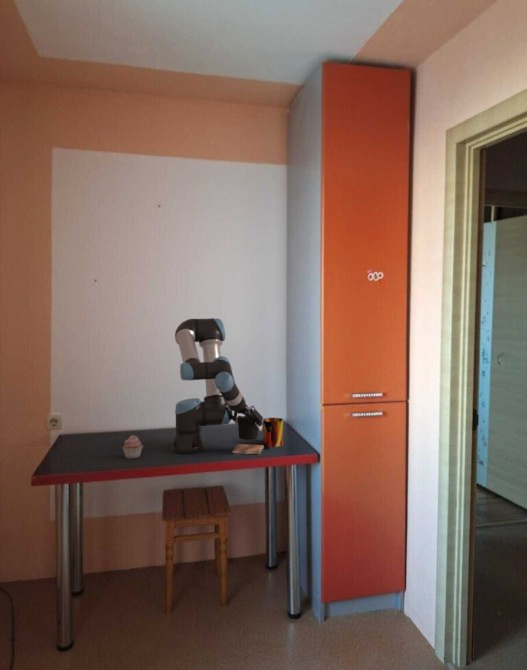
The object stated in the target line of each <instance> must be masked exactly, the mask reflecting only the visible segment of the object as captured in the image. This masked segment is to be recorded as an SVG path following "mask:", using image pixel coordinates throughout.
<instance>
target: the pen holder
mask: <svg viewBox="0 0 527 670" xmlns="http://www.w3.org/2000/svg"><path fill="white" fill-rule="evenodd" d="M237 417H238V425H237V428H238V438H239V439H240V440H244V441H251V440H257V438H258V436H259V430H258V428H257V426H256V424H255V421H253V420H252V419H251V418H249V417H248V416H245V415H237Z"/></svg>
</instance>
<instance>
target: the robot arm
mask: <svg viewBox="0 0 527 670" xmlns="http://www.w3.org/2000/svg"><path fill="white" fill-rule="evenodd" d="M174 333H175V334H174V340H175V342H176V344H177V345H178V347H179V348H178V349H179V351H180V355H181V359H182V360H181V361H182V363H180V367H179V372H180V373H179V375H180V379H181V380H182V381H189V382H190V381H199V380H201V381H202V380H205V391H206V395H205V396H204V397H203V401H201V399H200V398H198V397H196V398H193V397H192V398H187V399H183V400H179V401H178V402H177V403H176V404H175V409H174V411H175V412H174V414H175V436H174V439H173V441H172V442H173V443H172V445H171V447H172V448H171V449H172V450H171V451H172V452H174V453H177V454H182V453H184V454H185V453H190V454H196V453H195V452H197V453H200V451H201V452H203V451H204V450H206V443H205V441H204V438H203V435H202V427H212V426H223V425H224V426H225V425H228V424H230V422H231V421H233V422H234V423H235V424H236V425H237V426H238V414H242V415H243V416H248V417H249V418H251V419H252V420H253V421H255V424H256V426H257V428H258V432H261V431H263V419H264V417H263V416H262V415H261V414H260V412H258V410H257V409H256V408H255V406H254V405H251V406H248V405H247V404H246V403H247V402H246V399H245V397H244V395H243V394H242V392H241V391H240V389H239V388H238V386H237V384H236V382H235V377H234V375H233V369H232V365H231V363H230V360H229V358H227V356H222V354H221V346H222V345H223V342H224V341H225V340H226V330H225V326H224V322H223V321H222V319H220V318H213V317H212V318H211V317H210V318H189V319H185V321H182V322H181V323H180V324H179V325H178V326H177V327H176V330H175V332H174ZM196 343H199V344H198V345H199V347H200V348H201V349H202V355H203V361H202V362H201V359H200V356H199V352H198V349H197V345H196ZM202 450H203V451H202Z"/></svg>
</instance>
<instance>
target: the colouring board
mask: <svg viewBox="0 0 527 670" xmlns="http://www.w3.org/2000/svg"><path fill="white" fill-rule="evenodd" d="M264 448H265V446H264V445H262V444H246V443H245V444H241V443H240V444H239V443H238V444H237V445H236V446H235V447H234V448H233V450H232V451H231V454H232V453H244V454H258V455H257V456H260V455H261V453H262V452H263V450H264ZM262 449H263V450H262ZM261 451H262V452H261ZM259 454H260V455H259Z"/></svg>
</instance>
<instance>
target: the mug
mask: <svg viewBox="0 0 527 670" xmlns="http://www.w3.org/2000/svg"><path fill="white" fill-rule="evenodd" d="M262 426H263V427H262V444H264V445H266V446H265V447H268V448H278V447H282V446H284V419H283V418H280V417H265V418H263V420H262Z"/></svg>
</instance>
